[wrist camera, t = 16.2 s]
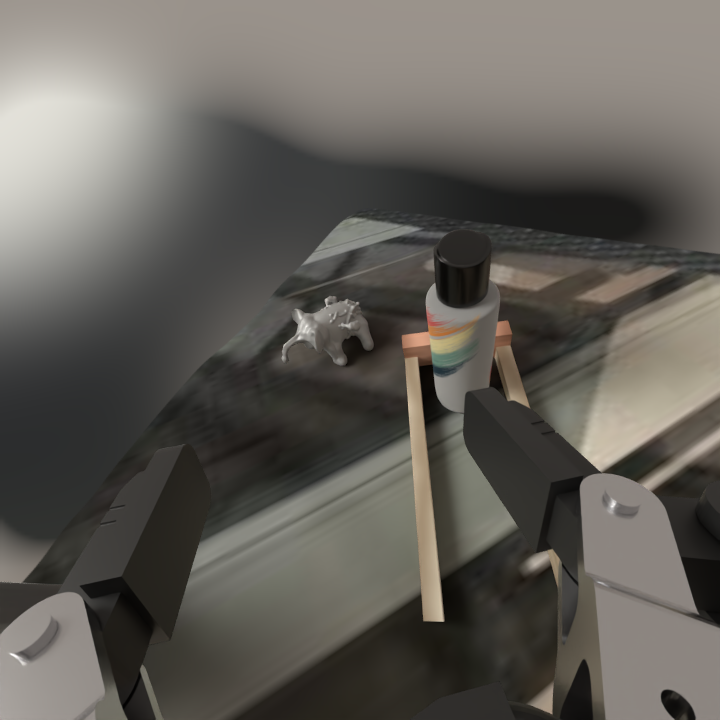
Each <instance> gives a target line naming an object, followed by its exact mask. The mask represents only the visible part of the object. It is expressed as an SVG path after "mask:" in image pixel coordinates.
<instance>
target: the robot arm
mask: <svg viewBox="0 0 720 720" xmlns="http://www.w3.org/2000/svg"><path fill="white" fill-rule="evenodd" d="M463 435H464V440H465V444H466V447H467V449H468V451H469V453H470V454H471V456H472V457H473V459H474V461H475V462H476V464H477V465H478V467H479V468H480V470H481V471H482V473H483V474H484V476H485V477H486V479H487V480H488V482H489V483H490V485H491V486H492V488H493V489H494V491H495V492H496V494H497V495H498V497H499V498H500V500H501V501H502V503H503V504H504V506H505V507H506V509H507V510H508V512H509V513H510V515H511V516H512V518H513V519H514V521H515V522H516V524H517V526H518V527H519V529H520V530H521V532H522V533H523V535H524V536H525V538H526V539H527V541H528V542H529V544H530V545H531V547H532V548H533V550H534V551H535V553H539V552H543V551H547V550H551V549H553V550H554V552H555V553H556V555H557V556H558V557H559V559H560V561H559V566H558V652H557V664H556V671H555V678H554V689H553V714H550V713H547V712H545V711H543V710H540V709H538V708H535V707H533V706H530V705H526V704H522V703H518V702H513V701H508V700H507V698H506V696H505V693H504V691H503V688H502V686H501V683H500V681H499V682H495V683H491V684H488V685H484V686H481V687H477V688H473V689H470V690H466V691H463V692H459V693H455V694H452V695H448V696H445V697H441V698H439V699H437V700H436V701H434V702H433V703H432V704H430V705H429V706H428V707H426V708H425V709H424V710H422V711H421V712H419V713H418V714H417V715H415V716H414V717H413V718H411V719H410V720H720V481H715V482H712V483H710V484H709V485H708V486H707V487H706V489H705V491H704V492H703V494H702V496H701V498H700V499H697V498H682V497H667V496H655V495H654V494H653V493H652V492H651V491H649V490H648V489H646V488H645V487H643V486H642V485H640V484H638V483H636V482H634V481H632V480H630V479H627V478H625V477H621V476H618V475H613V474H604V473H601V472H600V471H599V470H598V469H597V468H595V467H594V466H593V465H592V464H591V463H590V462H589V461H588V460H587V459H586V458H585V457H583V456H582V455H581V454H580V453H579V452H578V451H577V450H576V449H575V448H574V447H572V446H571V445H570V444H569V443H568V442H567V441H566V440H565V439H564V438H563V437H562V436H560V435H559V434H558V433H555V430H554V429H553V428H552V427H551V426H550V425H548V424H547V423H545V422H544V420H543V419H542V418H541V417H540V416H539V415H538V414H536V413H535V412H534V411H533V410H532V409H531V408H529V407H527V406H525V405H523V404H521V403H519V402H517V401H515V400H511V401H507V400H506V399H505V398H504V397H503V396H502V395H501V394H500V393H499V392H498V391H497V390H496V389H495V388H493V387H488V388H483V389H478V390H472V391H468V392H466V394H465V401H464V426H463ZM210 503H211V489H210V484H209V482H208V479H207V477H206V475H205V473H204V470H203V468H202V466H201V464H200V462H199V459H198V457H197V455H196V453H195V451H194V449H193V447H192V446H191V445H190V444H185V445H179V446H174V447H169V448H164V449H159V450H157V451H156V453H155V454H154V456H153V458H152V459H151V461H150V463H149V465H148V466H147V468H146V470H145V471H143V472H139V473H138V474H137V475H136V476H135V477H134V478H133V479H131V480H130V481H129V482H128V483H127V484H126V485H125V486H124V487H123V488H122V489H121V491H120V492H119V494H118V495H117V497H116V499H115V500H114V502H113V503H112V505H111V507H110V511H108V512H107V513H106V515H105V516H104V518H103V520H102V521H101V523H100V524H101V526H100V527H98V528H97V529H96V531H95V533H94V534H93V536H92V538H91V539H90V541H89V542H88V544H87V546H86V547H85V549H84V550H83V552H82V554H81V555H80V557H79V559H78V560H77V562H76V563H75V565H74V567H73V568H72V570H71V572H70V573H69V575H68V576H67V578H66V580H65V581H64V583H63V584H62V585H56V584H34V583H12V582H0V720H163V717H162V714H161V711H160V709H159V706H158V703H157V700H156V697H155V694H154V691H153V688H152V685H151V682H150V680H149V677H148V674H147V671H146V669H145V667H144V665H143V664H142V663H143V660H144V657H145V654H146V651H147V648H148V645H152V644H156V643H160V642H164V641H168V640H170V639H171V636H172V632H173V629H174V626H175V622H176V619H177V616H178V612H179V609H180V605H181V602H182V599H183V595H184V592H185V588H186V585H187V582H188V578H189V575H190V572H191V568H192V565H193V561H194V558H195V555H196V551H197V548H198V545H199V541H200V538H201V534H202V531H203V528H204V524H205V521H206V518H207V514H208V511H209V507H210Z"/></svg>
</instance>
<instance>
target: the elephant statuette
mask: <svg viewBox="0 0 720 720" xmlns="http://www.w3.org/2000/svg"><path fill="white" fill-rule="evenodd" d="M325 303H326V307H325V308H324V309H321V311H319V312H316V313H314V314H309V313H304V312H303V311H301V310H299V309H294V310H293V311H292V317H293V319H294V321H296V322H297V323H298V329H297V333H296V335H295V336H294V337H293V338H292V339H290V340H289V341H288V342H287V343H285V344H284V346H283V351H282V353H283V357H282V361H283V363H285V364H287V363H288V361H289V359H288V355H287V354H288V350H289V348H290V347H291V346H293V345H295V344H298V343H304V344H305V346H306V347H307V348H309V349H316V350H317V352H318V353H319V354H320V353H321V352H322V350H323V349H324V350H326V351H327V352H328V354H329V355H330V356H331V357H332V358H333V362H334V363H336V364H338V365H340V366H344V365H346V363H347V357H346V355H345V354H344V352H343V350H342V342H343V341H344V339H348V338H350V336H357V337H358V338H359V339H360V340H361V342H362V346H363V348H364V349H365V350H367V351H370V350H372V349H373V347H374V343H373V340H372V337H371V334H370V331H369V328H368V322H367V321H366V319H365V318H364V316H363V315H362V312H361V311H360V310H361V308H360V307H359V306H358V305H359V302H356V303H355V302H352V301H351V300H348V299H346V301H343V302H342V301H340V302H338V303H337V298H336V297H335V296H333V297H332V296H329V297H328V298H326V299H325Z"/></svg>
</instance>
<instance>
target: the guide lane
mask: <svg viewBox="0 0 720 720" xmlns="http://www.w3.org/2000/svg"><path fill="white" fill-rule="evenodd" d="M511 338H512V332H511V329H510V326H509V323H508V321H502V322H497V329H496V337H495V344H494V352H493V357H495V360H496V363H497V367H498V371H499V374H500V378H501V382H502V385H503V389H504V393H505V396H506V400H507V401H511V400H515V401H517V402H519V403H521V404H523V405H525V406H527V407H529V403H528V400H527V397H526V394H525V391H524V388H523V384H522V381H521V378H520V375H519V372H518V369H517V365H516V362H515V359H514V356H513V353H512V350H511V346H510V344H511ZM402 345H403V352H404V356H405V365H406V380H407V394H408V408H409V422H410V436H411V450H412V464H413V479H414V493H415V507H416V521H417V535H418V549H419V563H420V578H421V592H422V606H423V620H424V621H436V622H444V621H445V619H444V609H443V599H442V589H441V579H440V569H439V559H438V549H437V539H436V530H435V520H434V510H433V500H432V490H431V480H430V470H429V460H428V450H427V440H426V430H425V420H424V410H423V400H422V390H421V380H420V370H419V366H425V365H433V363H432V354H431V346H430V337H429V332H423V333H416V334H408V335H402ZM529 408H530V407H529ZM548 554H549V557H550V561H551V565H552V568H553V572H554V576H555V579H556V583H557V587H558V566H559V561H560V559H559V557H558V556H557V555H556V553H555V552H554V550H553V549H551V550H548Z"/></svg>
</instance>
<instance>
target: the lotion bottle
mask: <svg viewBox="0 0 720 720" xmlns="http://www.w3.org/2000/svg"><path fill="white" fill-rule="evenodd" d="M491 249H492V244H491V240H490V238H489V237H488V236H487V235H486V234H484V233H481V232H475V231H472V230H467V229H461V230H455V231H452V232H450V233H448V234H447V235H445V236H444V237H443V238H442V239H441V241H440V242H439V243H438V244H436V246H435V247H434V268H435V284H434V285H433V286H432V287H431V288H430V289H429V291H428V293H427V296H426V311H427V320H428V329H429V337H430V346H431V354H432V363H433V371H434V380H435V388H436V393H437V397H438V399H439V401H440V402H441V403H442V405H443V406H445V407H446V408H447V409H449V410H451V411H454V412H459V413H464V401H465V394H466V392H468V391H472V390H478V389H483V388H488V387H489V383H490V375H491V367H492V360H493V352H494V344H495V337H496V329H497V321H498V313H499V304H500V294H499V290H498V288H497V286H496V285H495V284H494V283H493V282H492V281H491V280H490V279H489V276H490V263H491Z"/></svg>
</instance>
